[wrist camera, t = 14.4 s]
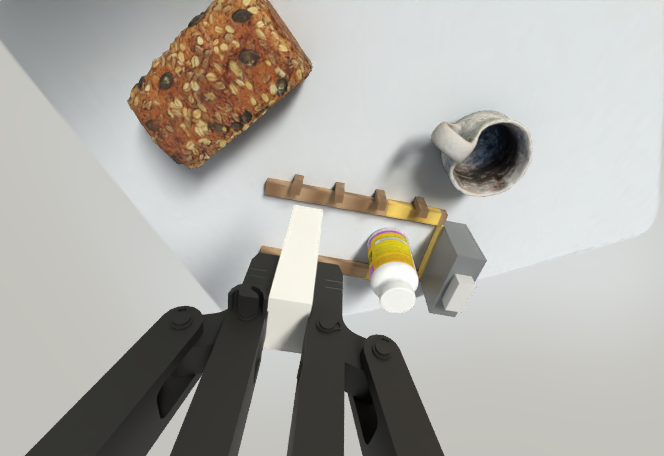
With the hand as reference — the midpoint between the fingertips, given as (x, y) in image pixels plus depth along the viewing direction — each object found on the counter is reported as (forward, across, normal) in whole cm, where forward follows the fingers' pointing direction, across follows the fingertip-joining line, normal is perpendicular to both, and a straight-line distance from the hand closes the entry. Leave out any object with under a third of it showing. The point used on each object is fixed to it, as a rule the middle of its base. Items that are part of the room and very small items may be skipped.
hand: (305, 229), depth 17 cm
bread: (+30, -12, +1) cm, 32 cm away
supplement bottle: (+30, +13, -20) cm, 38 cm away
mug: (+30, +18, -1) cm, 35 cm away
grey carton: (+29, +22, -19) cm, 41 cm away
